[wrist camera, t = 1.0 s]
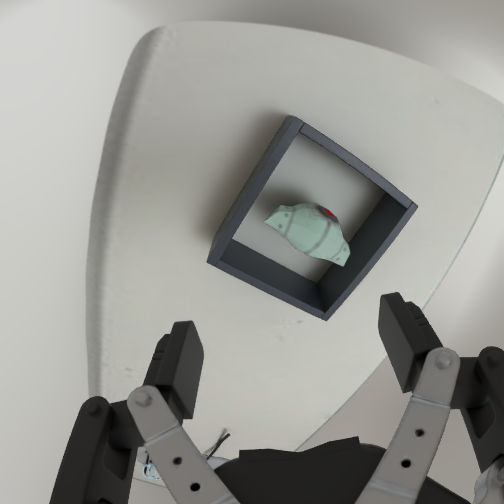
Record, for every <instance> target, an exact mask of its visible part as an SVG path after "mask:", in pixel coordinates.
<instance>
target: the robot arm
mask: <svg viewBox="0 0 504 504" xmlns="http://www.w3.org/2000/svg"><path fill="white" fill-rule="evenodd" d="M378 329H379V334H380V337H381V340H382V342H383V344H384V347H385V349H386V352H387V354H388V356H389V359H390V361H391V364H392V366H393V368H394V371H395V374H396V376H397V379H398V381H399V384H400V386H401V389H402V392H403V393H406V392H410V391H412V394H413V395H412V396H411V399H410V401H409V403H408V406H407V408H406V410H405V413H404V415H403V417H402V419H401V422H400V424H399V426H398V428H397V430H396V432H395V434H394V436H393V439H392V440H391V442H390V444H389V446H388V448H387V449H385V448H382V447H380V446H376V445H372V444H365V443H360V442H359V438H358V436H357V437H352V438H346V439H341V440H335V441H329V442H327V443H324V444H322V445H319V446H316V447H314V448H311V449H308V450H305V451H303V452H291V451H282V450H275V449H255V450H239V458H235V459H232V460H230V461H227V462H225V463H223V464H221V465H220V466H218V467H217V468H215V469H214V470H213V469H212V467H211V466H210V465H209V464H208V462H207V461H206V460H205V458H204V457H203V456H202V454H201V453H200V451H199V450H198V449H197V447H196V446H195V445H194V443H193V442H192V440H191V439H190V437H189V436H188V435H187V433H186V432H185V430H184V429H183V427H182V424H183V419H193V413H194V408H195V402H196V397H197V391H198V386H199V381H200V376H201V370H202V365H203V360H204V351H203V346H202V344H201V341H200V338H199V336H198V333H197V330H196V327H195V325H194V323H193V321H180V322H175V323H174V325H173V328H172V331H171V333H170V334H165V335H164V336H163V337H162V338H161V339H160V341H159V342H158V343H157V346H156V349H155V353H154V354H153V357H152V360H151V363H150V366H149V368H148V371H147V374H146V377H145V380H144V383H143V385H142V386H141V387H138V388H136V389H135V390H133V391H132V392H131V393H130V395H129V397H128V399H127V400H124V401H119V402H115V403H110V404H109V402H108V401H107V400H106V399H105V398H103V397H100V396H96V397H92V398H90V399H88V400H86V402H84V403H83V405H82V406H81V409H80V411H79V414H78V416H77V419H76V422H75V424H74V427H73V430H72V433H71V436H70V438H69V441H68V444H67V447H66V450H65V453H64V456H63V459H62V462H61V465H60V468H59V472H58V475H57V478H56V482H55V485H54V488H53V492H52V495H51V500H50V503H49V504H128V499H129V493H130V488H131V482H132V477H133V471H134V466H135V461H136V456H137V451H138V448H139V447H145V449H146V451H147V453H148V455H149V457H150V459H151V461H152V462H153V464H154V466H155V468H156V469H157V471H158V473H159V475H160V476H161V478H162V480H163V481H164V483H165V485H166V486H167V488H168V490H169V491H170V493H171V495H172V496H173V498H174V499H175V501H176V502H177V504H471V503H470V502H469V501H467V500H466V499H464V498H462V497H460V496H459V495H457V494H455V493H454V492H452V491H450V490H449V489H447V488H445V487H444V486H442V485H441V484H439V483H437V482H436V481H434V480H433V479H431V478H429V477H428V476H426V475H427V473H428V471H429V469H430V466H431V464H432V461H433V459H434V456H435V454H436V451H437V449H438V446H439V443H440V441H441V438H442V435H443V432H444V429H445V426H446V423H447V420H448V417H449V414H450V410H451V409H460V411H461V414H462V416H463V419H464V422H465V424H466V427H467V430H468V433H469V436H470V439H471V442H472V445H473V448H474V451H475V454H476V458H477V461H478V464H479V468H480V471H481V475H480V476H479V477H478V479H477V481H476V483H475V498H474V502H473V504H504V351H503V350H502V349H500V348H498V347H492V346H490V347H486V348H484V349H483V350H482V351H481V352H480V354H479V356H478V357H459V356H458V355H457V354H456V352H455V351H453V350H451V349H449V348H444V347H443V345H442V343H441V342H440V340H439V338H438V337H437V335H436V333H435V332H434V330H433V328H432V327H431V325H430V324H429V322H428V320H427V319H426V317H425V316H424V314H423V312H422V311H421V309H420V308H419V307H418V306H417V305H415V304H414V303H412V302H411V301H410V302H405V301H404V300H403V298H402V296H401V295H400V293H399V292H395V293H390V294H384V295H381V298H380V308H379V319H378Z"/></svg>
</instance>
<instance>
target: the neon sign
mask: <svg viewBox="0 0 504 504" xmlns="http://www.w3.org/2000/svg"><path fill="white" fill-rule="evenodd" d="M229 436H230V434H227V435H226V436H225V437H224V438H223V439H222V440H220V441H219V443H218V445H217V446H216V448H215V449H214V450H213V451H212V452H211V454H210V455H209V456H206V455H202V456H203V457H204V458H205V460H206V461H207V462H208V464H209V465H210V466H211V467H212V469H213V470H214V469H215V468H217V467H218V466H220V465H221V464H223V463H225V462H227V461H230V460H228V459H224V458H219V457H211V456H212V455H213V454H214V453H215V452H216V450H217V449H218V448H219V446H220V445H221V443H222V442H223V441H224V440H225V439H226V438H228V437H229ZM137 459H138V461H139V462H141V463H142V464H144V465H142V473H143V475H144V476H146V477H148V478H151V479H155V480H161V479H162V478H161V476H160V478H156V469H155V466H154V464H153V462H152V461H151V459H150V457H149V455H148V453H147V451H146V449H145V447H139V448H138V451H137ZM144 467H145V469H144ZM147 467H148V468H147ZM151 467H152V468H153V469H154V476H151V475H149V472H150V468H151ZM146 470H147V475H148V476H147V475H146Z"/></svg>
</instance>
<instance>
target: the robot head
mask: <svg viewBox="0 0 504 504" xmlns="http://www.w3.org/2000/svg"><path fill="white" fill-rule="evenodd" d="M264 222H265V223H266V224H268V225H269V226H271V227H272V228H274V229H275V230H277V231H278V232H279V233H280V234H282V235H283V236H284V237H285V238H286V239H287V240H288V241H289V242H290V243H291V244H292V245H293V246H294V247H295V248H296V249H297V250H299V251H301V252H303V253H304V254H306V255H308V256H311V257H316V258H321V259H325V260H329V261H332V262H334V263H336V264H339V265H341V266H344V264H345V262H346V260H347V258H348V257H349V255H350V250H349V245H348V244H347V242H346V241H345V239H344V238H343V235H342V231H341V228H340V224H339V221H338V219H337V217H336V216H334V215H333V214H332V213H331V212H330V211H329V210H328V209H326V208H324V207H323V206H321V205H319V204H317V203H300V204H298V205H295V206H292V207H290V206H285V205H280V206H279V207H278V208H277V209H276V210H275V211H274V212H273V213H272V214H271V215H270V216H269V217H268V218H267V219H266V220H265V221H264Z"/></svg>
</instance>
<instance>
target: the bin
mask: <svg viewBox="0 0 504 504" xmlns="http://www.w3.org/2000/svg"><path fill="white" fill-rule="evenodd" d="M298 132H301V133H302V134H304V135H305V136H307V137H309V138H310V139H312V140H313V141H315V142H316V143H318V144H319V145H321V146H322V147H324V148H325V149H327V150H328V151H330V152H331V153H333V154H334V155H336V156H337V157H339V158H340V159H342V160H343V161H345V162H346V163H347V164H349V165H350V166H352V167H353V168H355V169H356V170H357V171H359V172H360V173H361V174H363V175H364V176H366V177H367V178H368V179H370V180H371V181H372V182H374V183H375V184H376V185H378V186H379V187H380V188H382V189H383V190H384V191H385V192H386V193H385V195H384V196H383V198H382V199H381V200H380V202H379V203H378V205H377V206H376V207H375V209H374V210H373V212H372V213H371V214H370V216H369V217H368V219H367V220H366V221H365V223H364V224H363V225H362V227H361V228H360V229H359V231H358V232H357V233H356V235H355V236H354V238H353V239H352V240H351V242H350V243H349V244H348V245H349V250H350V255H349V257H348V258H347V260H346V262H345V264H344V266H341V265H339V264H336V263H334V264H333V265H332V266H331V268H330V269H329V270H328V271H327V273H326V274H325V275H324V276H323V278H322V279H321V280H320V282H319V283H318V284H316V283H314V282H312V281H310V280H308V279H306V278H304V277H303V276H301V275H299V274H297V273H295V272H293V271H291V270H289V269H288V268H286V267H284V266H282V265H280V264H278V263H276V262H274V261H272V260H271V259H269V258H267V257H265V256H263V255H261V254H259V253H257V252H256V251H254V250H252V249H250V248H248V247H246V246H244V245H242V244H240V243H239V242H237V241H235V240H233V239H232V237H233V235H234V234H235V232H236V230H237V229H238V227H239V226H240V224H241V222H242V221H243V219H244V217H245V216H246V214H247V212H248V211H249V209H250V208H251V206H252V204H253V203H254V201H255V200H256V198H257V196H258V195H259V193H260V192H261V190H262V188H263V187H264V185H265V184H266V182H267V180H268V179H269V177H270V176H271V174H272V172H273V171H274V169H275V168H276V166H277V164H278V163H279V161H280V160H281V158H282V157H283V155H284V153H285V152H286V150H287V149H288V147H289V146H290V144H291V142H292V141H293V139H294V138H295V136H296V135H297V133H298ZM417 208H418V205H416V204H415V203H414V202H413V201H412V200H411V199H409V198H408V197H407V196H406V195H405V194H403V193H402V192H401V191H400V190H398V189H397V188H396V187H395V186H393V185H392V184H391V183H390V182H388V181H387V180H386V179H385V178H383V177H382V176H381V175H379V174H378V173H377V172H376V171H374V170H373V169H372V168H370V167H369V166H368V165H366V164H365V163H364V162H362V161H361V160H359V159H358V158H357V157H355V156H354V155H353V154H351V153H350V152H348V151H347V150H346V149H344V148H343V147H341V146H340V145H338V144H337V143H335V142H334V141H332V140H331V139H330V138H328V137H327V136H325V135H324V134H322V133H320V132H319V131H317V130H316V129H314V128H313V127H311V126H310V125H308V124H306V123H305V122H303V121H302V120H300V119H299V118H297V117H295V116H291V115H288V116H287V118H286V119H285V121H284V123H283V124H282V126H281V127H280V129H279V131H278V132H277V134H276V135H275V137H274V138H273V140H272V142H271V143H270V145H269V147H268V148H267V150H266V151H265V153H264V155H263V156H262V158H261V159H260V161H259V163H258V164H257V166H256V168H255V169H254V171H253V173H252V174H251V176H250V177H249V179H248V181H247V182H246V184H245V186H244V187H243V189H242V191H241V192H240V194H239V196H238V197H237V199H236V201H235V203H234V204H233V206H232V208H231V209H230V211H229V213H228V214H227V216H226V218H225V220H224V221H223V223H222V225H221V226H220V228H219V230H218V232H217V233H216V235H215V237H214V239H213V242H212V246H211V249H210V252H209V255H208V258H207V263H209V264H211V265H212V266H215V267H216V268H218V269H220V270H222V271H224V272H226V273H228V274H230V275H232V276H234V277H236V278H238V279H240V280H242V281H244V282H246V283H248V284H250V285H252V286H254V287H256V288H258V289H260V290H262V291H264V292H266V293H268V294H270V295H272V296H274V297H276V298H279V299H281V300H283V301H285V302H287V303H289V304H291V305H293V306H295V307H297V308H299V309H301V310H303V311H305V312H307V313H309V314H312V315H314V316H316V317H318V318H321V319H322V320H325V321H327V320H328V319H329V318H330V317H331V316H332V315H333V314H334V313H335V311H336V310H337V309H338V308H339V307H340V306H341V305H342V303H343V302H344V301H345V300H346V299H347V298H348V296H349V295H350V294H351V293H352V292H353V291H354V289H355V288H356V287H357V286H358V285H359V283H360V282H361V281H362V280H363V279H364V277H365V276H366V275H367V274H368V272H369V271H370V270H371V269H372V268H373V266H374V265H375V264H376V263H377V261H378V260H379V259H380V257H381V256H382V255H383V254H384V252H385V251H386V250H387V249H388V247H389V246H390V245H391V243H392V242H393V241H394V239H395V238H396V237H397V235H398V234H399V233H400V231H401V230H402V229H403V227H404V226H405V225H406V223H407V222H408V220H409V219H410V218H411V216H412V215H413V214H414V212H415V211H416V209H417Z"/></svg>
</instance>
